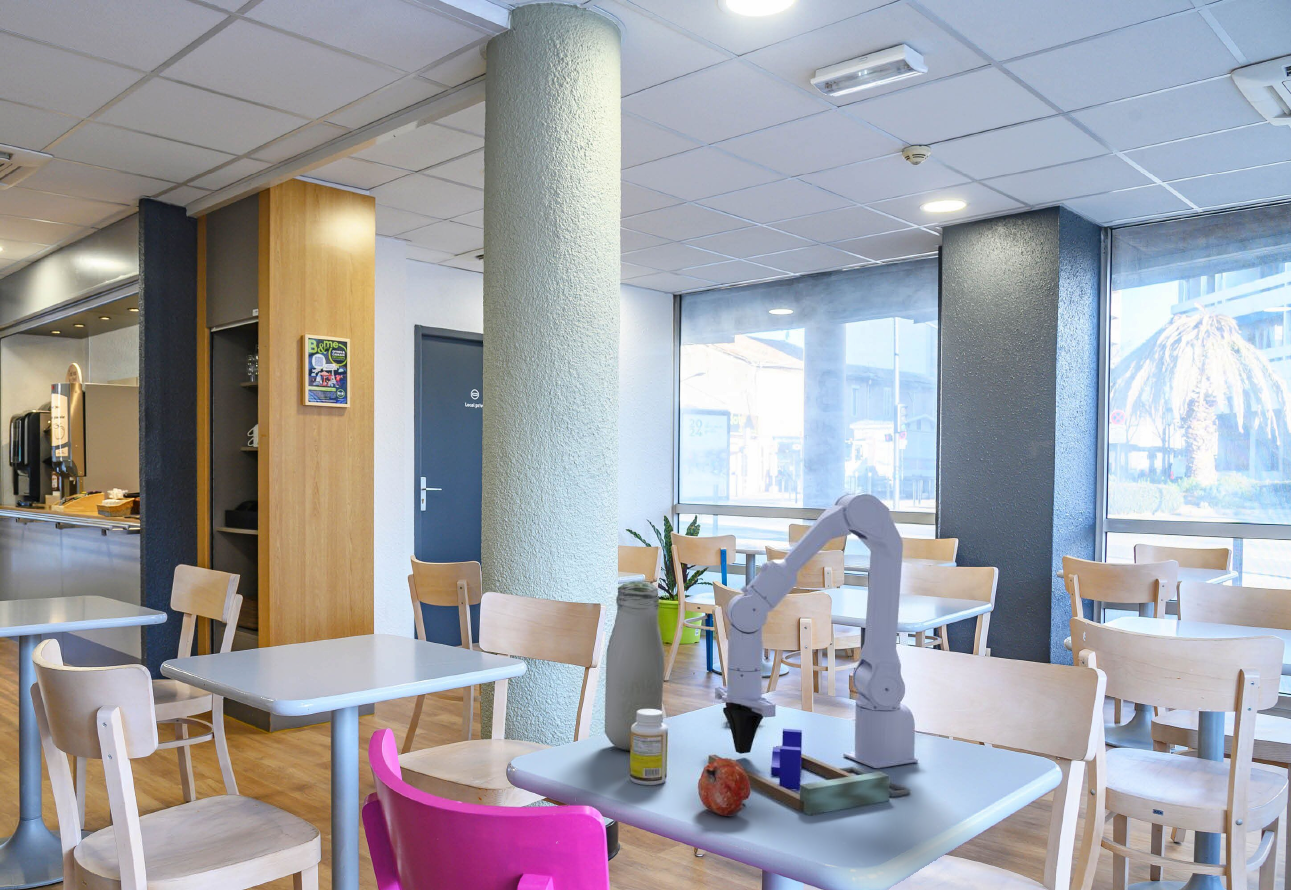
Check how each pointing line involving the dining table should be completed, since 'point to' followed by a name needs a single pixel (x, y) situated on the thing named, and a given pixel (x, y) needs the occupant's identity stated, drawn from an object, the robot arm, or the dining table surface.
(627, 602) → the glass bottle
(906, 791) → the cord loop
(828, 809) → the guide lane
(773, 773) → the cable clip
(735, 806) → the pomegranate
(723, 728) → the dining table surface
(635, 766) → the supplement bottle
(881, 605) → the robot arm
